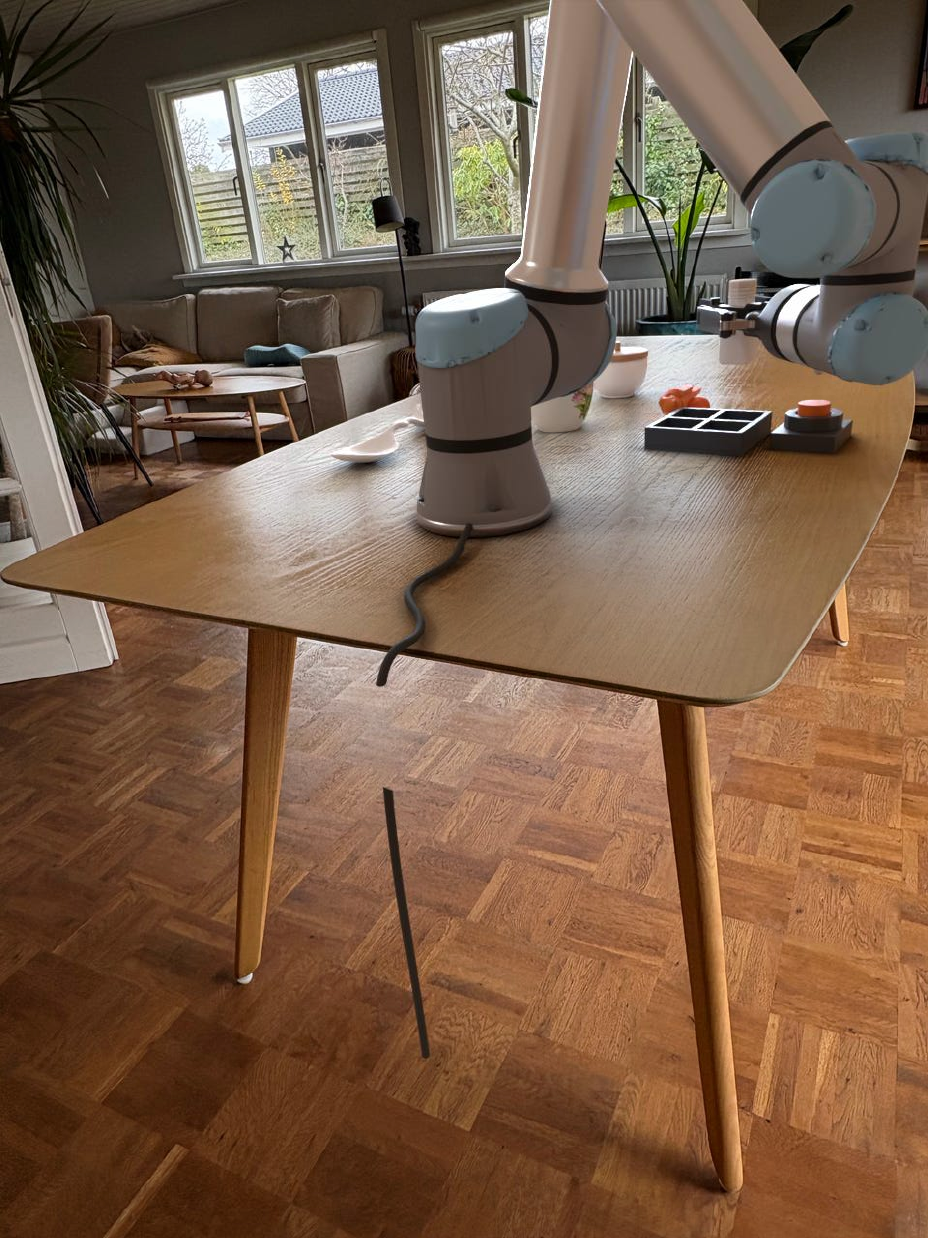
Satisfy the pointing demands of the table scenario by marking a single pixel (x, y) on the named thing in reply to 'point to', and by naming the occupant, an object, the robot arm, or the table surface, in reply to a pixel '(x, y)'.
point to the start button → (814, 408)
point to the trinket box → (623, 372)
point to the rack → (708, 431)
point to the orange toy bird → (682, 399)
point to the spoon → (379, 441)
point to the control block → (811, 432)
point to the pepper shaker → (739, 345)
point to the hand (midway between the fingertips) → (724, 307)
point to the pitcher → (563, 411)
